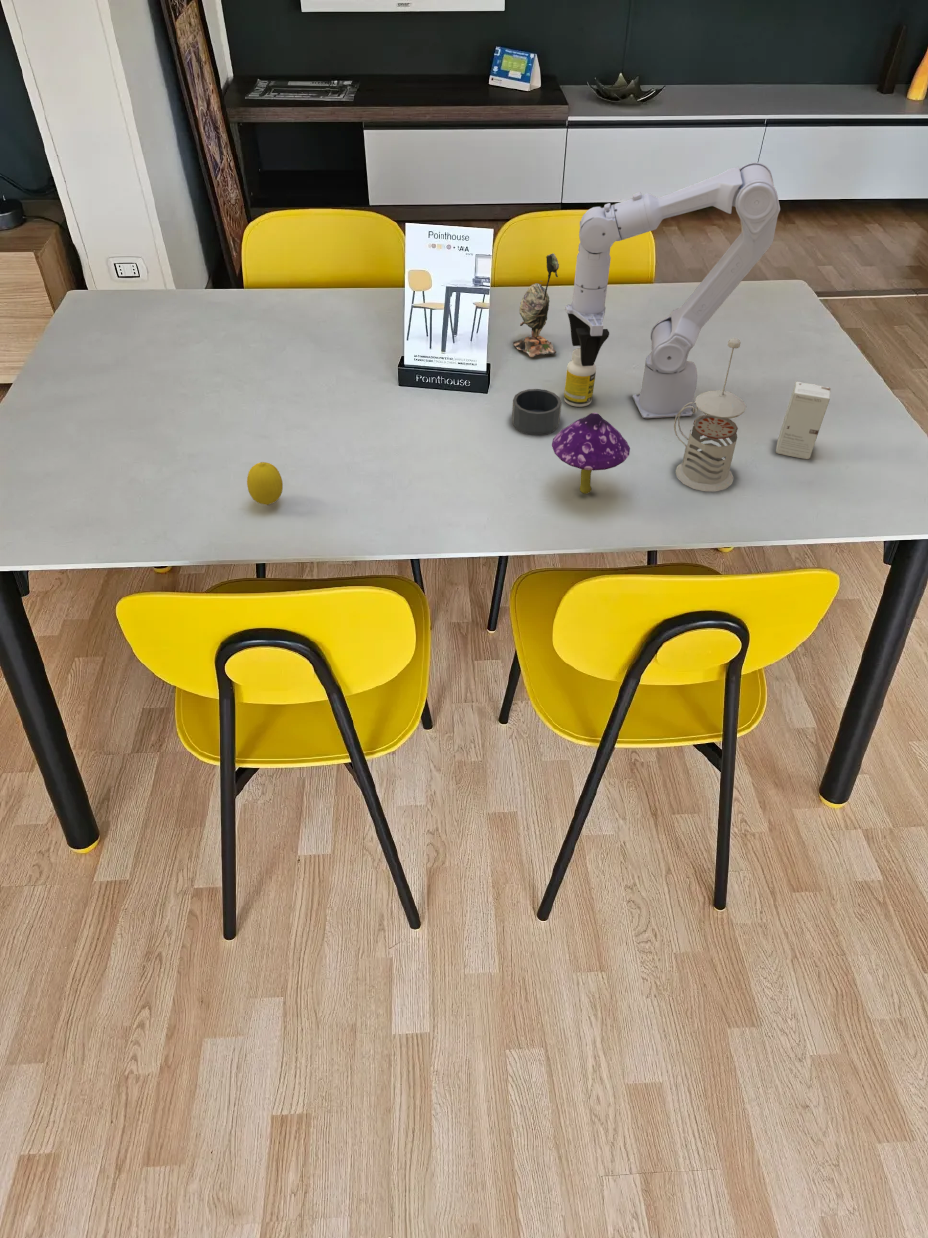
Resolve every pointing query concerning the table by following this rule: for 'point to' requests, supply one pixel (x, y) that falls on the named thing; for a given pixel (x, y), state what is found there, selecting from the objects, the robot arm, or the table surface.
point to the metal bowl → (536, 412)
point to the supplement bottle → (579, 381)
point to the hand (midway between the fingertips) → (582, 354)
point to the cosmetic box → (803, 420)
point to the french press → (711, 438)
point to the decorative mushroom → (590, 447)
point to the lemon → (264, 483)
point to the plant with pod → (537, 314)
